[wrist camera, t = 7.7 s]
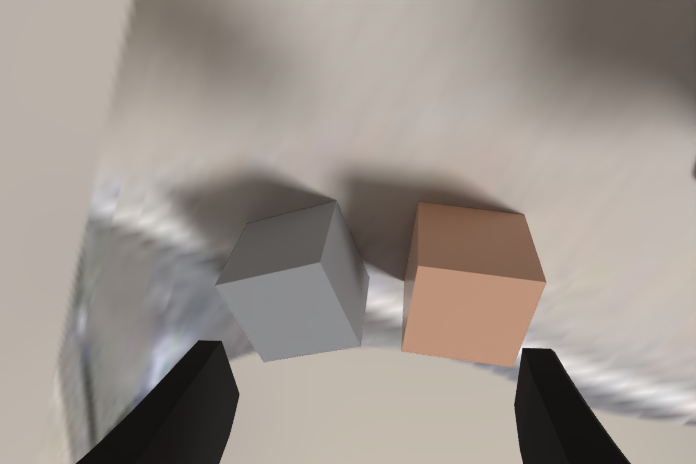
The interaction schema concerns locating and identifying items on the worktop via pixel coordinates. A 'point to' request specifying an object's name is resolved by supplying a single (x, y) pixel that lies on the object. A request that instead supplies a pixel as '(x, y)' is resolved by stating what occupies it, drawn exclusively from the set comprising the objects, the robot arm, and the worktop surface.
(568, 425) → the robot arm
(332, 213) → the slate grey block
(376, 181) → the worktop surface
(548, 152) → the worktop surface
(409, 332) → the terracotta block
